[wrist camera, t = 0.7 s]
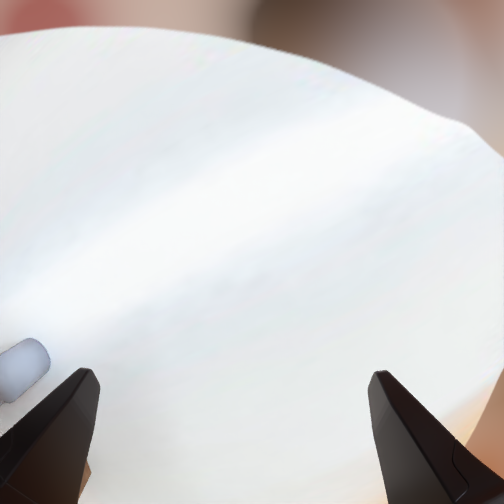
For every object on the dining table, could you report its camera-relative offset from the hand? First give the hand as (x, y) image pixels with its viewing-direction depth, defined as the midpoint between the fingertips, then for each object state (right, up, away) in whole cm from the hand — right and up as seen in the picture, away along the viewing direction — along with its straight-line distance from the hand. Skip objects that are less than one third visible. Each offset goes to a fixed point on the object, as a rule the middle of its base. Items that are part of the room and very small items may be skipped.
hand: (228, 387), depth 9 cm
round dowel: (-19, -5, +14) cm, 24 cm away
